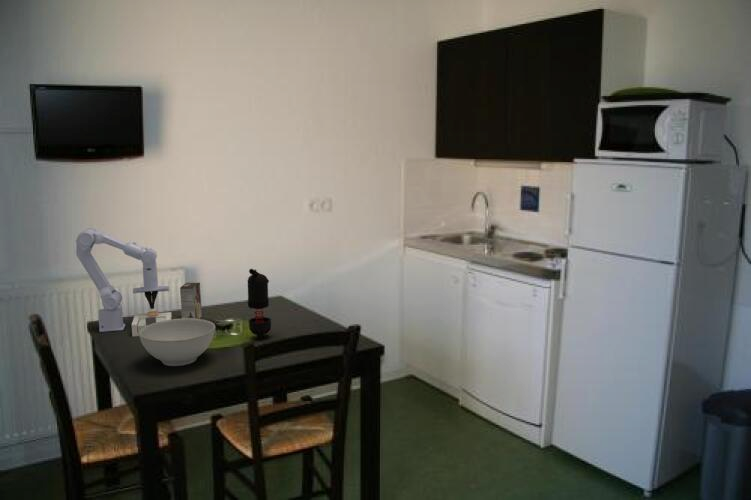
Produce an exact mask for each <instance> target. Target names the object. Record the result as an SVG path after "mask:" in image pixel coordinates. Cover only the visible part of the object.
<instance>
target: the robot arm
mask: <svg viewBox="0 0 751 500" xmlns="http://www.w3.org/2000/svg"><path fill="white" fill-rule="evenodd" d="M75 242H76V243H75V244H76V247H75V248H76V250H75V251H76V254H75V255H76V256H77V259H78V260H79V262H80V263H81V265H82V266H83V268H84V270H85V271H86V273H87V275H88V276H89V277H90V279H91V281H92V283H93V284H94V286H95V287H96V289H97V290H98V293H99V297H100V299H101V303H102V308H101V309H98V313H97V314H98V315H97V316H98V326H99V327H98V328H99V330H98V331H99V332H100V333H101V332H102V333H103V332H104V333H105V332H112V331H113V332H116V331H124V329H125V327H126V323H124V317H123V315H124V314H123V306H122V304H121V302H122V300H123V295H122V294H121V292H119V291H118V290H116V288H115V287H114V286H113V285H111V284H110V282H109V280H108V279H107V277H106V275H105V274H104V272H103V271H102V269H101V267H100V266H99V264H98V262H97V260H96V259H95V258H94V256H93V254H92V250H93V248H94V246H95V245H100V244H106V245H108V246H110V247H113V248H117V249H119V250H121V251H122V252H123V253H124V255H126V256H128V257H130V258H134V259H136V260H138V261H140V262H141V263H142V279H143V286H141V287H134V288H132V294H138V293H139V294H142V293H144V297H145V299H146V300H147V302H148V305H149V308H150V310H154V309H155V302H156V300H157V297H158V294H159V293H160V292H170V286H169V285H164V286H163V285H159V284H158V282H159V281H158V278H159V277H158V267H157V257H158V254H157V252H156V251H155V250H154V249H153V248H148V247H147V246H145V247H144V246H142V245H139V244H138V243H137V241H133V242H132V241H130V242H124V241H123V240H121V239H118V238H117V237H115V236H112V235H110V234H108V233H106V232H103V231H102V230H99V229H97V230H96V229H95V228H93V227H88V228H86V229H84V230H83V231H81V232H80V233H78V236H77V237H76V240H75Z"/></svg>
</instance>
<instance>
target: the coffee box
mask: <svg viewBox="0 0 751 500" xmlns="http://www.w3.org/2000/svg"><path fill="white" fill-rule="evenodd" d="M179 292H180V308H181V319H182V318H194V319H198V318H199V319H201V318H202V316H203V314H202V299H201V297H202V295H201V282H186V283H183V284H182V286H181V287H179Z"/></svg>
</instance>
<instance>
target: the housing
mask: <svg viewBox="0 0 751 500" xmlns="http://www.w3.org/2000/svg"><path fill="white" fill-rule="evenodd" d="M146 317H156V318H165V320H171V319H172V311H169V312H158V315H157V316H148V315H147V313H142V314H135V315H134V317H133V320H132V322H131V334H132V335H131V336H132V337H139V333H138V324H139V321H140V319H145V318H146Z"/></svg>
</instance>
